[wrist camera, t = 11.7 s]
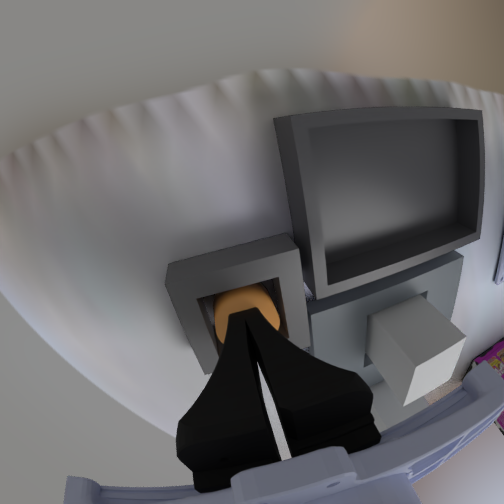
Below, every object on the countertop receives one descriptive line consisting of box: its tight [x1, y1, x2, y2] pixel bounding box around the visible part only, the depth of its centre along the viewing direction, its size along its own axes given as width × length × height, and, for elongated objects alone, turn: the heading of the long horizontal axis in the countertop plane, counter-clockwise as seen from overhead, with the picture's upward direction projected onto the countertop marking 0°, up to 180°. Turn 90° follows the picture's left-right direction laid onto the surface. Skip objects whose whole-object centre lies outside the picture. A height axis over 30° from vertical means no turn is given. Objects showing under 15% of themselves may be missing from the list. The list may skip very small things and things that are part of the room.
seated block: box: [370, 380, 430, 432], centre depth 19 cm, size 4×4×6 cm
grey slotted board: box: [306, 250, 464, 387], centre depth 20 cm, size 12×16×1 cm
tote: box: [273, 107, 485, 300], centre depth 13 cm, size 12×8×2 cm
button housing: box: [165, 233, 311, 375], centre depth 14 cm, size 6×6×2 cm
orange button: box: [213, 282, 280, 344], centre depth 14 cm, size 3×3×2 cm
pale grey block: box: [365, 294, 466, 407], centre depth 16 cm, size 4×4×6 cm
